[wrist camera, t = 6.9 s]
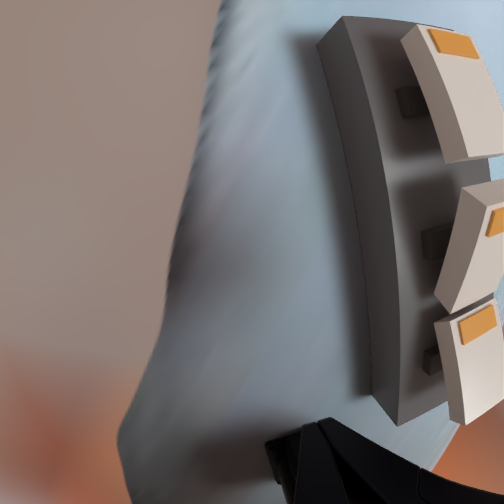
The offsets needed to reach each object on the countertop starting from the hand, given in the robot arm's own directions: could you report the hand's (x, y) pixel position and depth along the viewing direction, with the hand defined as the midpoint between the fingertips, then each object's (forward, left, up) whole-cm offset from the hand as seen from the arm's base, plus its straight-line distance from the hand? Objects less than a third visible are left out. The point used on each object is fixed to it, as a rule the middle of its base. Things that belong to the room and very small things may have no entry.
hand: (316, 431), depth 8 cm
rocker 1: (+10, -12, -6) cm, 17 cm away
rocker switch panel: (0, -12, -13) cm, 18 cm away
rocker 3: (-6, -12, -6) cm, 15 cm away
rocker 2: (+2, -12, -6) cm, 14 cm away
